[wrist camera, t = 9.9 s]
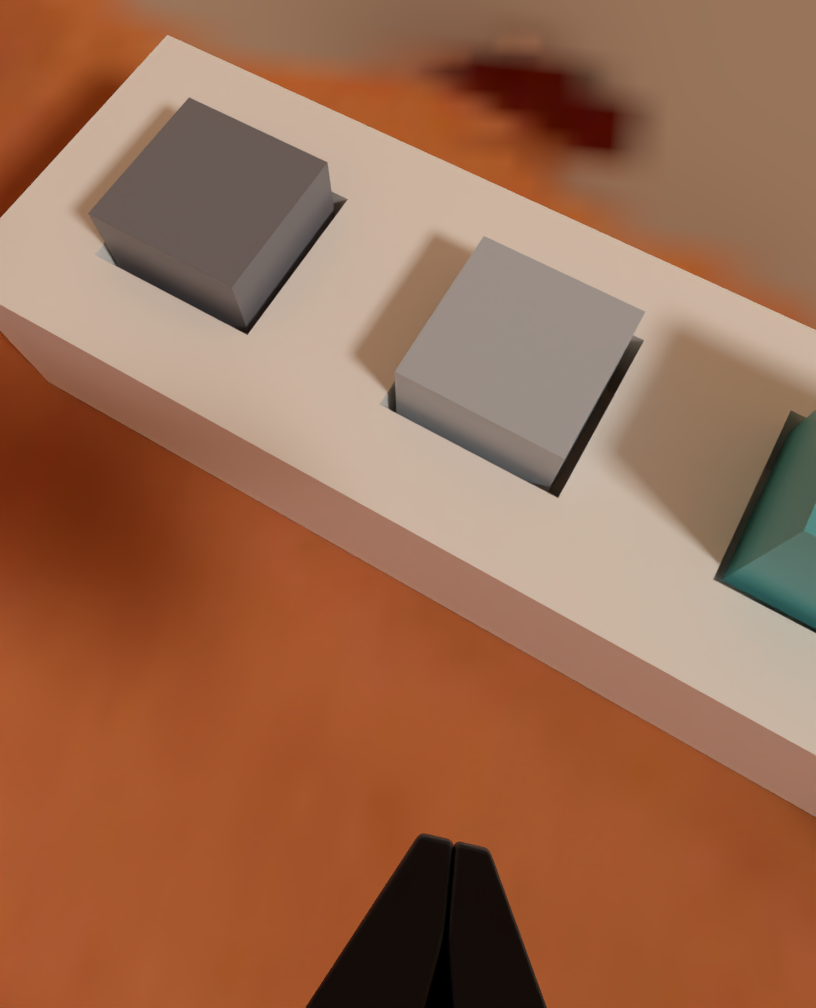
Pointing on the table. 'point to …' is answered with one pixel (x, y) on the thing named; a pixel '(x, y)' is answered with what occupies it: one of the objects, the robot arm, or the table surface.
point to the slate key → (514, 362)
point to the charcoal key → (216, 213)
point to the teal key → (783, 532)
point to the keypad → (429, 457)
